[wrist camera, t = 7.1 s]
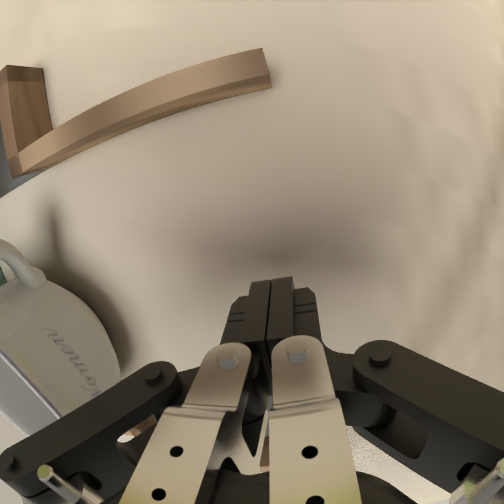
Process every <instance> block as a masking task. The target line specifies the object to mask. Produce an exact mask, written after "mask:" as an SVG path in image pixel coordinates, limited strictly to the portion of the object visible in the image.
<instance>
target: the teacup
mask: <svg viewBox="0 0 504 504" xmlns="http://www.w3.org/2000/svg"><path fill="white" fill-rule="evenodd" d="M0 259H1V260H3V261H4V262H6V263H7V264H8V265H9V266H10V267H11V269H12V270H13V272H14V273H15V275H16V276H17V278H16V279H14V280H11V281H9V282H7V283H6V284H4V285H2V286H0V413H1V414H2V415H3V416H4V417H5V418H6V419H7V420H8V421H9V422H10V423H12V424H13V425H14V426H15V427H16V428H17V429H19V430H20V431H21V432H22V433H23V434H24V435H26V436H27V437H29V436H30V435H32V434H34V433H36V432H37V431H39V430H41V429H43V428H44V427H46V426H48V425H50V424H51V423H53V422H55V421H56V420H58V419H60V418H61V417H63V416H65V415H66V414H68V413H70V412H72V411H73V410H75V409H77V408H78V407H80V406H81V405H83V404H85V403H86V402H88V401H90V400H91V399H93V398H95V397H96V396H98V395H99V394H101V393H103V392H104V391H106V390H108V389H109V388H111V387H112V386H114V385H116V384H117V383H119V382H120V368H119V363H118V359H117V356H116V353H115V350H114V348H113V346H112V344H111V342H110V339H109V336H108V334H107V332H106V330H105V328H104V326H103V325H102V323H101V322H100V320H99V319H98V317H97V316H96V314H95V313H94V312H93V311H92V310H91V308H90V307H89V306H88V305H87V304H86V303H85V302H83V301H82V300H81V299H80V298H79V297H77V296H76V295H75V294H73V293H72V292H70V291H69V290H67V289H65V288H62V287H61V286H59V285H57V284H55V283H53V282H51V281H48V280H46V277H45V274H44V273H43V272H42V271H41V270H40V269H39V268H36V267H32V266H31V265H30V263H29V262H28V261H27V260H26V258H25V257H24V256H23V255H22V254H21V252H19V251H18V250H17V249H16V248H15V247H14V246H13V245H11V244H10V243H9V242H6V241H4V240H2V239H0Z"/></svg>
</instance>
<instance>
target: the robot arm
mask: <svg viewBox="0 0 504 504" xmlns="http://www.w3.org/2000/svg"><path fill="white" fill-rule="evenodd" d="M269 395H273V409H270V411H269V412H268V408H267V406H268V397H269ZM151 415H152V416H153V418H154V419H155V420H156V422H157V423H155V424H154V425H152V426H151V427H149V428H148V429H146V430H145V431H143V432H142V433H140V434H139V435H137V436H136V437H134V438H133V439H131V440H130V441H128V442H125V443H121V442H118V441H117V439H118V438H119V437H120V436H121V435H123V434H124V433H126V432H127V431H129V430H130V429H132V428H133V427H135V426H136V425H138V424H139V423H141V422H142V421H144V420H145V419H147V418H148V417H150V416H151ZM268 417H269V462H270V471H267V472H263V473H260V458H261V453H262V448H263V443H264V438H265V433H266V428H267V422H268ZM346 425H347V426H352V427H353V429H354V430H355V432H357V433H358V434H359V435H360V436H362V437H363V438H365V439H366V440H368V441H369V442H370V443H372V444H373V445H375V446H376V447H378V448H379V449H381V450H382V451H383V452H385V453H386V454H388V455H389V456H391V457H392V458H394V459H395V460H397V461H398V462H400V463H402V464H403V465H405V466H406V467H408V468H409V469H411V470H412V471H414V472H416V473H417V474H419V475H420V476H422V477H424V478H425V479H427V480H429V481H430V482H432V483H434V484H435V485H437V486H439V487H440V488H442V489H444V490H446V491H447V492H449V493H451V497H450V500H449V504H504V392H502V391H499V390H497V389H495V388H492V387H490V386H488V385H486V384H484V383H481V382H479V381H477V380H475V379H472V378H470V377H468V376H466V375H464V374H461V373H459V372H457V371H455V370H453V369H450V368H448V367H446V366H444V365H442V364H440V363H437V362H435V361H433V360H431V359H429V358H427V357H424V356H422V355H420V354H418V353H416V352H414V351H412V350H409V349H407V348H405V347H403V346H401V345H399V344H397V343H394V342H392V341H387V340H376V341H371V342H368V343H366V344H364V345H362V346H361V347H359V348H358V349H357V351H356V352H355V354H344V353H338V352H335V351H332V350H330V349H329V348H327V347H326V346H325V345H324V343H323V342H322V339H321V332H320V325H319V318H318V311H317V305H316V298H315V294H314V293H313V292H312V291H311V290H310V289H309V288H308V287H307V288H300V289H294V283H293V278H292V276H291V277H284V278H277V279H272V280H264V281H257V282H252V283H251V286H250V291H249V296H243V297H239V298H238V299H237V300H236V301H235V302H234V303H233V304H232V306H231V309H230V312H229V316H228V319H227V323H226V326H225V329H224V332H223V336H222V339H221V343H220V345H219V346H217V347H215V348H213V349H212V350H210V351H209V352H208V353H207V354H206V355H205V357H204V359H203V361H202V363H201V366H199V367H197V368H193V369H189V370H186V371H182V372H177V370H176V368H175V366H174V365H173V364H171V363H169V362H165V361H158V362H153V363H150V364H148V365H146V366H144V367H142V368H141V369H139V370H138V371H136V372H135V373H133V374H131V375H130V376H128V377H127V378H125V379H123V380H122V381H120V382H119V383H117V384H116V385H114V386H112V387H111V388H109V389H108V390H106V391H104V392H103V393H101V394H99V395H98V396H96V397H95V398H93V399H91V400H90V401H88V402H86V403H85V404H83V405H81V406H80V407H78V408H77V409H75V410H73V411H72V412H70V413H68V414H66V415H65V416H63V417H61V418H60V419H58V420H56V421H55V422H53V423H51V424H50V425H48V426H46V427H44V428H43V429H41V430H39V431H37V432H36V433H34V434H32V435H30V436H29V437H27V438H25V439H24V440H22V441H20V442H18V443H16V444H15V445H13V446H11V447H9V448H7V449H6V450H5V451H3V453H2V454H1V455H0V479H2V480H3V481H4V482H5V483H6V484H8V485H9V486H10V487H12V488H13V489H14V490H15V491H17V492H18V494H19V495H20V496H21V497H22V499H23V503H24V504H417V503H416V502H415V501H413V500H412V499H410V498H409V497H408V496H406V495H405V494H403V493H402V492H401V491H399V490H398V489H397V488H395V487H394V486H392V485H391V484H390V483H388V482H386V481H384V480H382V479H380V478H378V477H375V476H373V475H370V474H366V473H363V472H358V471H355V466H354V461H353V457H352V452H351V447H350V443H349V438H348V434H347V430H346Z"/></svg>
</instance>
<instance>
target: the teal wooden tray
mask: <svg viewBox="0 0 504 504" xmlns="http://www.w3.org/2000/svg"><path fill="white" fill-rule="evenodd" d="M267 88H271V82H270V76H269V71H268V67H267V64H266V60H265V56H264V53H263V49H262V48H259V49H254V50H250V51H245V52H241V53H237V54H233V55H229V56H225V57H222V58H218V59H214V60H211V61H208V62H204V63H201V64H198V65H195V66H192V67H188V68H185V69H182V70H180V71H177V72H174V73H171V74H168V75H166V76H163V77H160V78H158V79H155V80H153V81H150V82H148V83H145V84H143V85H140V86H138V87H135V88H133V89H131V90H129V91H126V92H124V93H122V94H120V95H117V96H115V97H113V98H111V99H109V100H107V101H105V102H103V103H101V104H99V105H97V106H95V107H93V108H91V109H89V110H87V111H85V112H83V113H82V114H80V115H78V116H76V117H74V118H72V119H71V120H69V121H67V122H65V123H64V124H62V125H60V126H59V127H57V128H55V129H54V130H52V126H51V121H50V115H49V110H48V104H47V98H46V91H45V84H44V76H43V69H41V68H33V67H24V66H13V65H6V66H5V67H4V68H3V69H2V70H1V71H0V198H1V197H2V196H4V195H5V194H7V193H8V192H10V191H11V190H13V189H15V188H16V187H18V186H19V185H21V184H23V183H24V182H26V181H28V180H29V179H31V178H33V177H35V176H36V175H38V174H40V173H42V172H43V171H45V170H47V169H49V168H51V167H52V166H54V165H56V164H58V163H60V162H62V161H64V160H66V159H68V158H70V157H71V156H73V155H75V154H78V153H80V152H82V151H84V150H86V149H88V148H90V147H92V146H94V145H96V144H99V143H101V142H103V141H105V140H108V139H110V138H112V137H115V136H117V135H119V134H122V133H124V132H126V131H129V130H131V129H134V128H136V127H139V126H142V125H144V124H147V123H150V122H152V121H155V120H158V119H161V118H163V117H166V116H169V115H172V114H175V113H178V112H181V111H184V110H187V109H190V108H194V107H197V106H200V105H204V104H207V103H210V102H214V101H218V100H221V99H225V98H229V97H233V96H237V95H241V94H245V93H249V92H253V91H258V90H262V89H267ZM6 283H7V282H6V280H5V278H4V275H3V273H2V271H1V268H0V286H2V285H4V284H6ZM267 408H268V412H269V411H270V409H273V395H269V397H268V406H267ZM155 423H157V422H156V420H155V419H154V418H153V416H152V415H151V416H150V417H148V418H147V419H145V420H144V421H142V422H141V423H139V424H138V425H136V426H135V427H133V428H132V429H130V430H129V431H127V432H126V433H124V434H125V435H133V436H134V437H136V436H137V435H139V434H140V433H142V432H143V431H145V430H146V429H148V428H149V427H151V426H152V425H154V424H155ZM267 471H270V462H269V417H268V422H267V428H266V433H265V438H264V443H263V448H262V453H261V458H260V472H267Z"/></svg>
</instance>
